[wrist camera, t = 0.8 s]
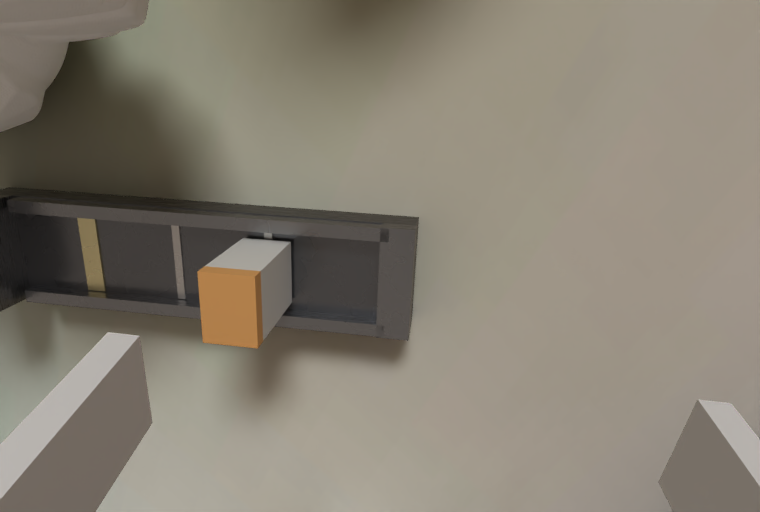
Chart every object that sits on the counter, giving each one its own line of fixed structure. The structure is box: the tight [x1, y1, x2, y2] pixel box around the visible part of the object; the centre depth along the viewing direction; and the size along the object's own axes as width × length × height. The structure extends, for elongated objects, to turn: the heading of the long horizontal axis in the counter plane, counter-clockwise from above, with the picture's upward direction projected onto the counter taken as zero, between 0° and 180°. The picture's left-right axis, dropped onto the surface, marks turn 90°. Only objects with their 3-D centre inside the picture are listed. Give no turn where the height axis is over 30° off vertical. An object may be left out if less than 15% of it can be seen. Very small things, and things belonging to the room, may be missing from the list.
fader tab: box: [197, 238, 292, 348], centre depth 29 cm, size 4×3×6 cm
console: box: [0, 187, 419, 341], centre depth 32 cm, size 7×28×6 cm, turn 88°
